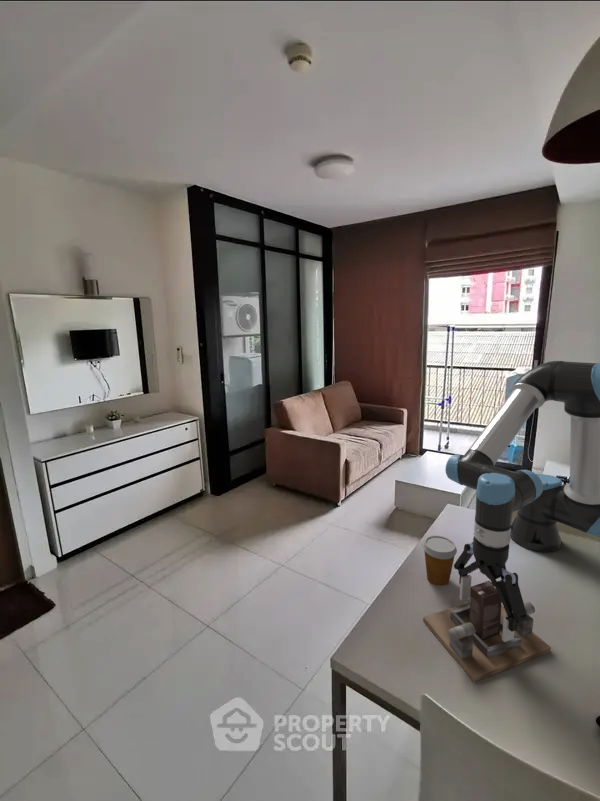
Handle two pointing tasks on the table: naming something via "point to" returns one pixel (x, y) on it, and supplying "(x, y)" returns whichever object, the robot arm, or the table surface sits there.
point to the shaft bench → (485, 642)
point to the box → (485, 610)
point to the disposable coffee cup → (439, 559)
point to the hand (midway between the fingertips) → (484, 617)
